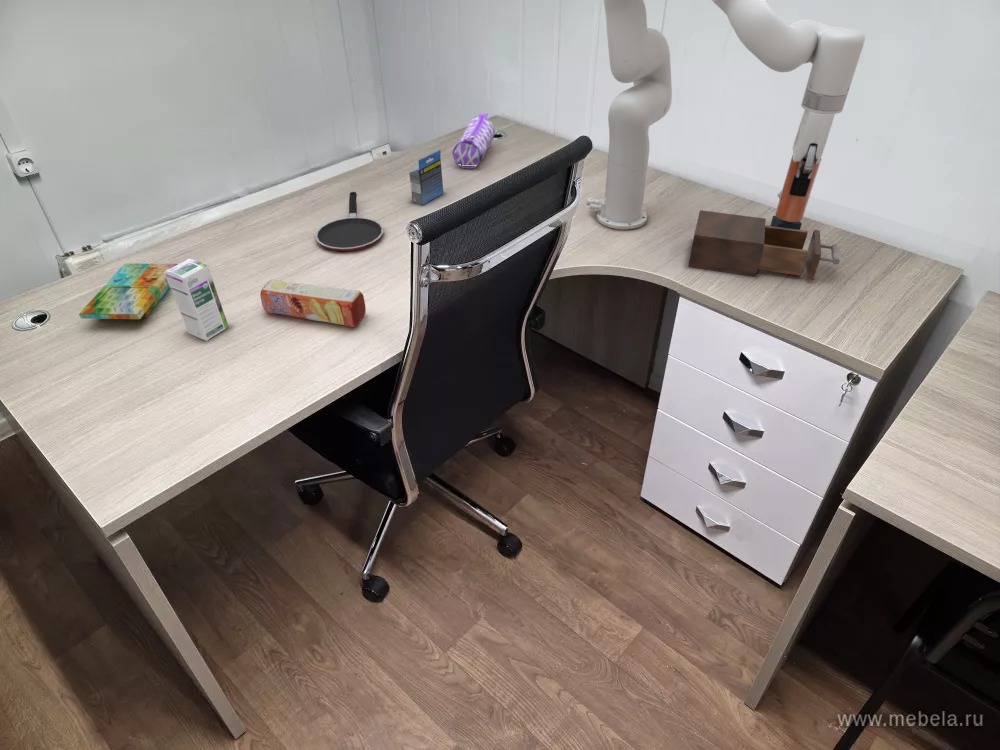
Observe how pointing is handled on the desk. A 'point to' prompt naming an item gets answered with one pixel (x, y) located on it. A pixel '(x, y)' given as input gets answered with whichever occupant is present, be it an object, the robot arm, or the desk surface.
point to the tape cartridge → (427, 179)
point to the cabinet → (727, 243)
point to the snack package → (314, 302)
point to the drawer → (793, 251)
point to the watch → (785, 224)
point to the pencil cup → (793, 205)
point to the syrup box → (197, 299)
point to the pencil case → (474, 142)
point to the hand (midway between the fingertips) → (797, 188)
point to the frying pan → (349, 231)
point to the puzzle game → (129, 293)
